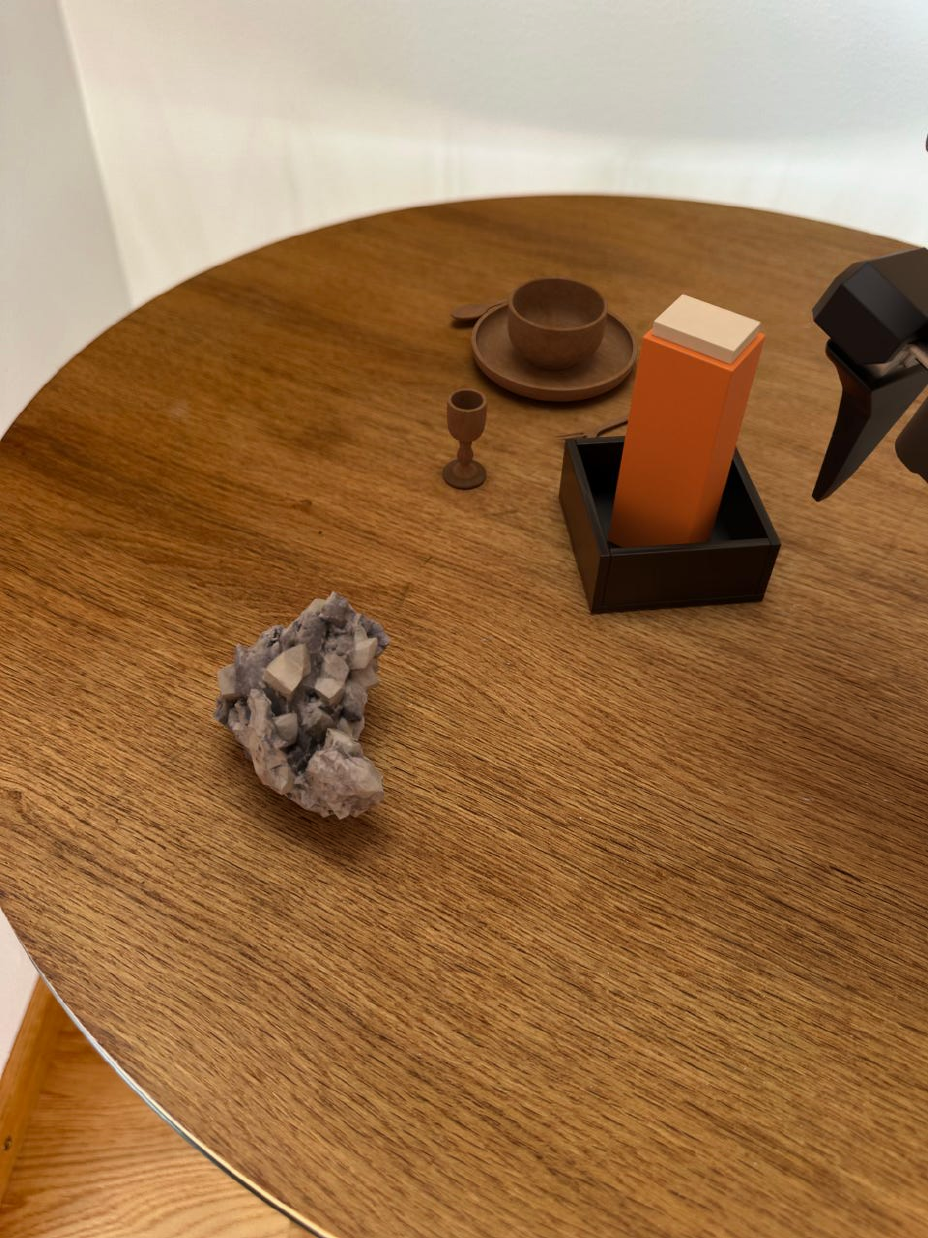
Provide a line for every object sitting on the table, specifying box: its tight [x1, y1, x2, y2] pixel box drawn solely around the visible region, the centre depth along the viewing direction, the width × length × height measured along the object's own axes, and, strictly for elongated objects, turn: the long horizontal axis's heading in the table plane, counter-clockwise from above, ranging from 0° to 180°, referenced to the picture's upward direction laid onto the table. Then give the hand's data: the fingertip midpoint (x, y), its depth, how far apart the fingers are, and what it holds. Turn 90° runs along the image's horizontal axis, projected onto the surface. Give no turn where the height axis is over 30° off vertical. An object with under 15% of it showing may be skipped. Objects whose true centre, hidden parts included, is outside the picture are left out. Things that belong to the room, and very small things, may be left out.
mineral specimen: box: [210, 590, 392, 820], centre depth 52 cm, size 12×9×10 cm
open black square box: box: [558, 435, 782, 615], centre depth 64 cm, size 10×10×5 cm
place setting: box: [442, 275, 639, 490], centre depth 74 cm, size 18×20×6 cm
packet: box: [608, 293, 766, 548], centre depth 59 cm, size 5×4×15 cm
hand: (890, 573), depth 47 cm, fingers open, 9 cm apart
